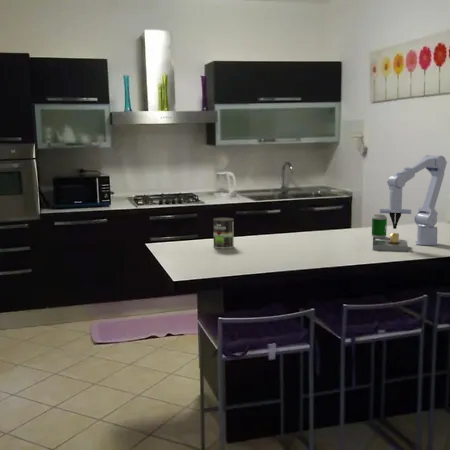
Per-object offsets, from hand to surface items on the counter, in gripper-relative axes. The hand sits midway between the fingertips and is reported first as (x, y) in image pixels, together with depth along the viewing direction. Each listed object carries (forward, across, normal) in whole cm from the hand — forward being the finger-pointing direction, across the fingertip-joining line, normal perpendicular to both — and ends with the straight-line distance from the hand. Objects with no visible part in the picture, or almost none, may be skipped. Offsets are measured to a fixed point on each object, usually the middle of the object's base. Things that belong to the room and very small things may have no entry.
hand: (394, 228), depth 271 cm
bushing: (+10, 0, 0) cm, 10 cm away
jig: (+10, -2, -1) cm, 10 cm away
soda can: (+10, -7, +26) cm, 29 cm away
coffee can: (+10, -82, -13) cm, 84 cm away
